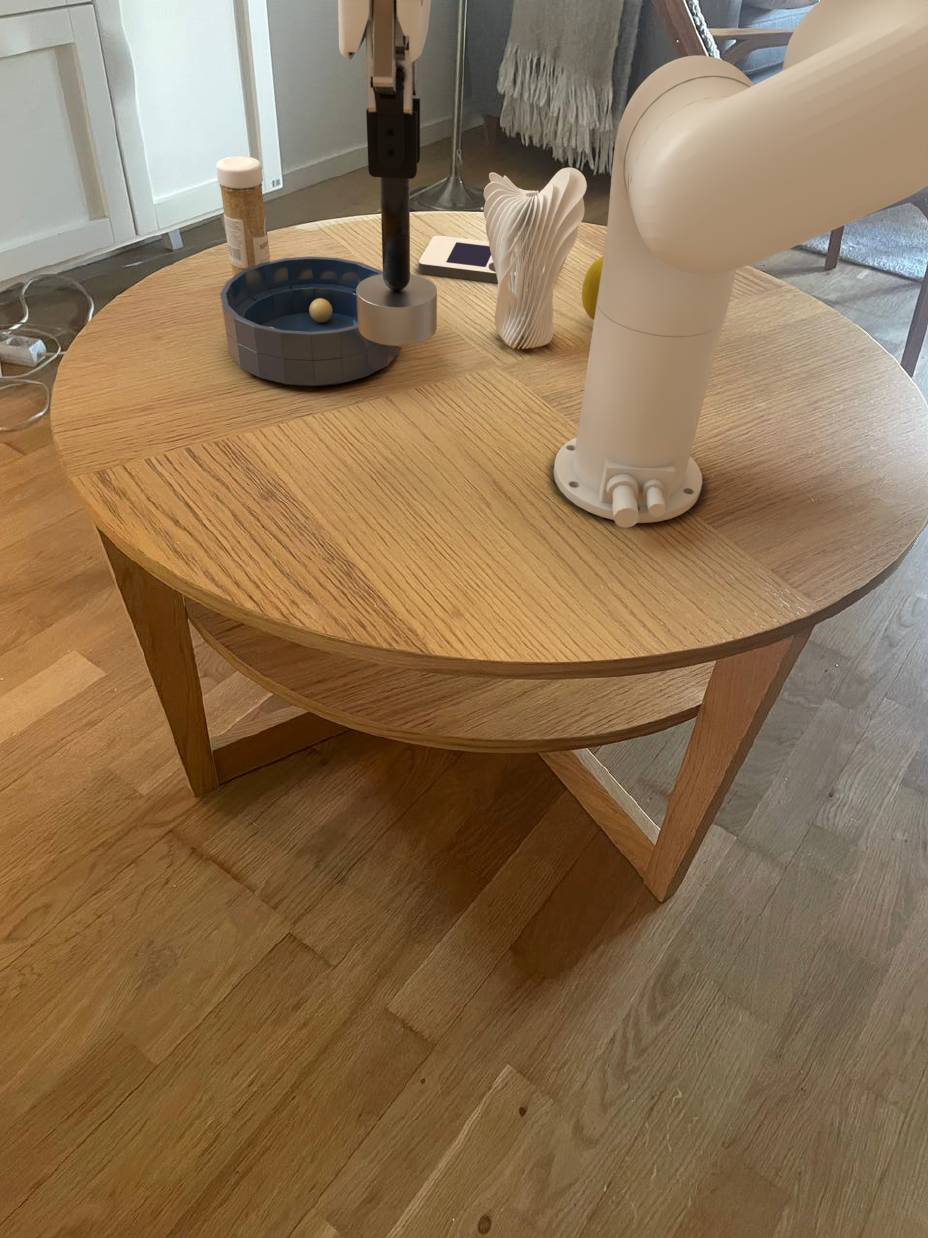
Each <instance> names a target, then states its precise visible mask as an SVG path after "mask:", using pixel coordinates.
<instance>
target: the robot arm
mask: <svg viewBox="0 0 928 1238" xmlns="http://www.w3.org/2000/svg"><path fill="white" fill-rule="evenodd" d="M431 3H432V0H337V8H338V9H337V13H338V19H337V21H338V50H339V52H340V54H341V55H342V57H343V58H344V59H346V60H350V61H351V60H352V59H354V58H353V57H354V56H355V54H356V53H359V51H360V49H361V46H362V45H363V43H364V41H365V58H366V59H365V64H366V84H367V85H366V86H367V87H366V88H367V89H366V90H367V108H366V111H365V112H366V113H365V114H366V116H365V117H366V141H367V143H366V144H367V167H368V168H367V171H368V174H369V175H370V176H371V177H373V178H380V177H384V178H405V179H409V180H411V179H414V178H416V176H417V173H418V164H419V162H420V159H421V98H418V59H419V57H421V55H422V53H423V50H424V48H425V44H426V40H427V36H428V32H429V25H430V24H429V23H430V15H431V6H432V5H431ZM782 64H783V65H782V70H781V71H780V72H778V73H776V74H774V75H772V76H770V77H768V78H766V79H763V80H762V81H760V82H757V83H755V84H754V83H753V81H751V79H750V78H749V77H748V76H747V75H746V74H745V73H744V72H743V71H741V70H740V69H739V68H738V67H737V66H735V65H733V64H732V63H730V62H728V61H725V60H724V59H720V58H718V57H714V56H710V55H709V56H708V55H688V56H687V55H686V56H683V57H679V58H676V59H674V60H672V61H670V62H667V63H665V64H663V65H662V66H660V67H659V68H656V70H654V71H653V72H652V73H651V74H650V75H648V76H647V77H646V78H645V79H644V80H643V81H642V83H641V84H639V86H638V87H637V88H636V90H635V91H634V93H633V94H632V96H631V98H630V100H629V101H628V103H627V105H626V107H625V109H624V111H623V114H622V116H621V119H620V122H619V126H618V130H617V133H616V138H615V143H614V150H613V158H612V167H611V177H610V179H611V180H610V192H609V203H608V213H607V214H608V215H607V223H606V224H607V226H606V234H605V243H604V250H603V256H604V257H603V264H602V271H601V278H600V285H599V292H598V297H597V304H596V311H595V318H594V320H593V324H592V333H591V339H590V346H589V353H588V360H587V366H586V373H585V378H584V386H583V393H582V400H581V407H580V413H579V419H578V426H577V434H576V437H574V438H572V439H570V440H568V441H567V442H566V443H564V444H562V446H561V447H560V448H559V451H558V452H557V453H556V456H555V459H554V464H553V465H554V466H553V478H554V482H555V484H556V486H557V488H558V489H559V491H560V492H561V493H562V494H563V495H564V497H566V498H567V499H568V500H569V501H570V502H572V504H574V505H575V506H577V507H579V508H581V509H582V510H584V511H586V512H588V513H590V514H592V515H595V516H597V517H600V518H604V519H608V520H612V521H613V522H614V523H615V525H616V526H618V527H619V528H623V529H628V528H632V527H634V526H635V525H636V524H648V523H659V522H663V521H666V520H667V521H668V520H671V519H673V518H676V517H678V516H681V515H683V514H684V513H685V512H688V510H690V509H691V508H692V507H693V506H695V504H696V502H697V501H698V499H699V497H700V494H701V490H702V486H703V474H702V471H701V469H700V467H699V465H698V463H697V462H696V460H695V459H694V458H693V457H692V456H691V453H692V449H693V445H694V442H695V437H696V433H697V430H698V426H699V423H700V417H701V414H702V410H703V406H704V401H705V398H706V394H707V390H708V385H709V382H710V378H711V374H712V370H713V367H714V362H715V358H716V354H717V351H718V346H719V342H720V339H721V334H722V329H723V326H724V323H725V320H726V316H727V312H728V308H729V304H730V300H731V296H732V293H733V288H734V284H735V283H734V282H735V277H736V274H737V270H738V269H741V268H743V267H748V266H750V265H752V264H756V263H759V262H761V261H763V260H766V259H769V258H770V257H773V256H775V255H778V254H780V253H782V252H785V251H787V250H789V249H792V248H794V247H797V246H799V245H801V244H804V243H806V242H809V241H811V240H813V239H815V238H818V237H820V236H822V235H825V234H827V233H830V232H832V231H834V230H837V229H839V228H841V227H844V226H846V225H848V224H851V223H853V222H855V221H858V220H860V219H862V218H865V217H867V216H869V215H871V214H874V213H876V212H878V211H880V210H883V209H885V208H887V207H890V206H891V205H894V204H896V203H899V202H900V201H903V200H905V199H907V198H910V197H911V196H912V195H914V194H916V193H918V192H920V191H921V190H924V189H925V188H927V187H928V0H820V1H818V2H817V3H816V4H814V6H813V7H812V8H810V10H809V11H807V13H806V14H805V15H804V16H803V18H802V19H801V20H800V21H799V23H798V25H797V26H796V28H795V29H794V31H793V33H792V35H791V36H790V38H789V41H788V44H787V46H786V48H785V53H784V58H783V63H782Z"/></svg>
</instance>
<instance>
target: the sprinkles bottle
mask: <svg viewBox="0 0 928 1238" xmlns="http://www.w3.org/2000/svg"><path fill="white" fill-rule="evenodd" d="M215 168H216V176H217V183H218V184H219V185H218V186H219V188H220V193H221V201H222V209H223V221H224V227H225V228H224V229H225V235H226V242H227V250H228V256H229V262H230V265H231V272H232V277H234V276H235V275H236V274H238V273H239V272H241V271H243V270H245V269H248V268H250V267H253V266H255V265H258V264H260V263H265V262H269V261H271V254H270V245H269V236H268V228H267V218H266V215H265V204H264V196H263V181H264V176H263V168H262V163H261V162H260V160H258V159H257V158H254V157H251V156H250V157H249V156H243V155H237V156H235V155H234V156H228V157H224V158H221V159H220V160H218V161H217V162H216V164H215Z"/></svg>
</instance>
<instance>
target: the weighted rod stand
mask: <svg viewBox="0 0 928 1238" xmlns="http://www.w3.org/2000/svg"><path fill="white" fill-rule="evenodd" d="M379 187H380V191H379V192H380V219H381V220H380V223H381V224H380V225H381V251H382V252H381V253H382V254H381V255H382V256H381V259H382V272H383V274H379V275H375V276H371V277H369V278H367V279H365V280H363V281H362V282H360V283H359V285H358V286H357V289H356V295H357V315H358V330H359V332H360V333H361V335H363V336H364V337H365V338H366V339H368V340H370V341H373V342H376V343H379V344H384V345H392V346H399V347H402V346H403V347H404V346H412V345H416V344H420V343H423V342H425V341H427V340H429V339H431V338H432V337H433V336H434V335H435V333H436V332H437V328H438V327H437V326H438V325H437V324H438V321H437V320H438V289H437V286H436V285H435V284H434V282H432V281H431V280H429V279H428V278H426V277H423V276H420V275H417V274H412V273H411V227H410V226H411V222H410V221H411V216H410V215H411V214H410V213H411V212H410V211H411V208H410V204H411V203H410V200H411V199H410V179H405V178H384V177H379Z"/></svg>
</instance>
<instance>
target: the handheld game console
mask: <svg viewBox="0 0 928 1238" xmlns="http://www.w3.org/2000/svg"><path fill="white" fill-rule="evenodd" d="M515 257H516V255H515ZM544 268H545V266H544ZM543 272H544V269H543ZM418 273H419V274H422V275H429V276H437V277H444V278H445V277H446V278H451V279H453V278H454V279H461V280H468V281H476V282H484V283H493V284H498V280H497V275H496V271H495V267H494V263H493V260H492V256H491V252H490V246H489V241H488V240H480V239H471V238H464V237H456V236H447V235H434V236H432V237H431V239H430V241H429V243H428V244H427V246H426V248H425V249H424V251H423V254H422V255H421V256H420V258H419V259H418ZM515 273H516V264H515ZM510 278H511V274H510ZM528 284H529V283H528ZM511 286H512V284H511Z"/></svg>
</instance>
